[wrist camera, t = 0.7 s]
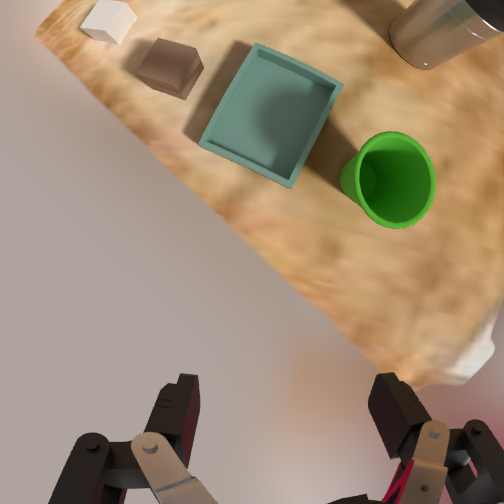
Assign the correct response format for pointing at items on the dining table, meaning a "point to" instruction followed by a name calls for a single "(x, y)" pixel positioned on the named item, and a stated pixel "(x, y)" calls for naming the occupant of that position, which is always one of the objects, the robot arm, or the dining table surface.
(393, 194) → the cup
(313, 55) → the dining table surface
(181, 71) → the walnut block
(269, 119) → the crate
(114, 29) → the cream box
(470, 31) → the robot arm
